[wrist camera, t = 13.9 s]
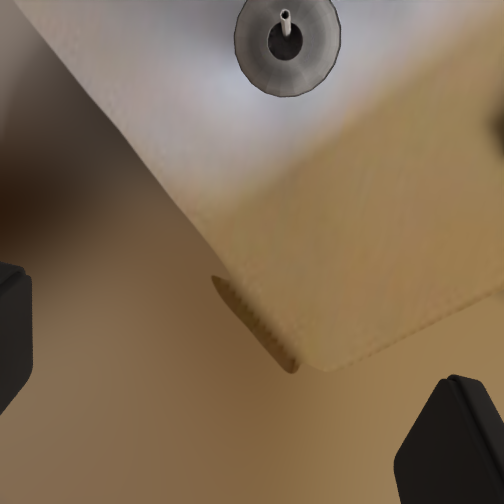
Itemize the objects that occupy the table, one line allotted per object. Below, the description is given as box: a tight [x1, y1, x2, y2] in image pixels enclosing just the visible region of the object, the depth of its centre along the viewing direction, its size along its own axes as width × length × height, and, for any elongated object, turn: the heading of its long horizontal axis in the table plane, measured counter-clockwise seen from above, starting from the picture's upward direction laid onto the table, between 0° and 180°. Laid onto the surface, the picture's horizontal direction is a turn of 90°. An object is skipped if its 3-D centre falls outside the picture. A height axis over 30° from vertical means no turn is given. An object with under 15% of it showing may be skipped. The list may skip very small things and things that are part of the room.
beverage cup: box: [234, 0, 341, 97], centre depth 30 cm, size 7×7×20 cm
